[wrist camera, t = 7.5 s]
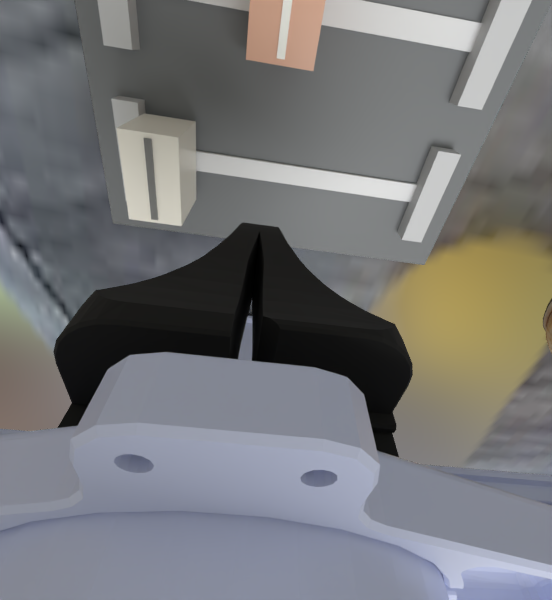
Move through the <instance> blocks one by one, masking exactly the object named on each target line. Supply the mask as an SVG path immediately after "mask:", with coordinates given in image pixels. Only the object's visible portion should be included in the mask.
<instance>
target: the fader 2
mask: <svg viewBox="0 0 552 600" xmlns="http://www.w3.org/2000/svg"><path fill="white" fill-rule="evenodd" d="M325 1H326V0H250V6H249V21H248V35H247V50H246V60H251V61H257V62H262V63H268V64H274V65H280V66H286V67H291V68H297V69H303V70H309V71H313V70H314V65H315V59H316V53H317V47H318V42H319V36H320V30H321V24H322V19H323V13H324V7H325Z"/></svg>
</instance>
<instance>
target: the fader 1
mask: <svg viewBox="0 0 552 600" xmlns="http://www.w3.org/2000/svg"><path fill="white" fill-rule="evenodd" d="M116 130H117V137H118V144H119V151H120V158H121V165H122V173H123V180H124V187H125V194H126V201H127V208H128V216H129V219H131V220H139V221H146V222H154V223H161V224H168V225H176V226H182V225H183V223H184V221H185V219H186V217H187V215H188V214H189V212H190V210H191V208H192V206H193V204H194V203H195V201H196V121H190V120H184V119H177V118H171V117H165V116H158V115H152V114H146V113H144V114H142V115H140V116H138V117H136V118H135V119H133V120H131V121H129V122H127V123H125V124H123V125H121V126H119V127H117V128H116Z"/></svg>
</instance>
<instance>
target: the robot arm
mask: <svg viewBox="0 0 552 600" xmlns="http://www.w3.org/2000/svg"><path fill="white" fill-rule="evenodd" d="M251 300H252V316H248V313H249V309H250V305H251ZM54 356H55V360H56V364H57V367H58V369H59V372H60V374H61V377H62V379H63V382H64V384H65V387H66V389H67V392H68V394H69V396H70V399H71V402H72V404H71V406H70V408H69V409H68V411H67V413H66V414H65V416H64V418H63V420H62V421H61V423H60V425H59V426H58V428H54V429H45V430H36V431H20V430H8V429H0V600H552V475H541V474H530V473H518V472H506V471H494V470H482V469H470V468H458V467H445V466H435V465H423V464H418V463H415V462H412V461H408V460H405V459H402V458H399V456H398V452H397V449H396V445H395V442H394V438H393V435H392V433H394V432H395V430H396V423H395V419H394V416H393V410H394V408H395V407H396V405H397V404H398V402H399V400H400V399H401V397H402V395H403V393H404V392H405V390H406V389H407V387H408V385H409V383H410V380H411V377H412V362H411V359H410V357H409V354H408V352H407V349H406V347H405V344H404V342H403V339H402V337H401V335H400V334H399V331H398V330H397V328H396V326H395V324H393V323H391V322H388V321H386V320H384V319H382V318H380V317H378V316H375V315H373V314H371V313H369V312H367V311H365V310H363V309H361V308H359V307H357V306H356V305H354V304H352V303H350V302H349V301H347V300H345V299H344V298H342V297H341V296H339V295H338V294H336V293H335V292H334V291H332V290H331V289H330V288H328V287H327V286H326V285H324V284H323V283H322V282H321V281H320V280H319V279H317V278H316V277H315V276H314V275H313V274H312V273H311V272H310V271H309V270H308V269H307V268H306V267H305V266H304V264H303V263H302V262H301V261H300V260H299V258H298V257H297V256H296V254H295V253H294V251H293V250H292V249H291V247H290V245H289V244H288V242H287V241H286V239H285V237H284V235H283V233H282V231H281V230H280V228H279V227H274V226H267V225H259V224H252V223H244V222H243V223H241V224H240V225H239V226H238V227H237V228H236V229H235V230H234V231H233V232H232V233H231V234H230V235H229V236H228V237H227V238H226V239H225V240H224V241H222V242H221V243H220V244H219V245H218V246H217V247H215V248H214V249H212V250H211V251H210V252H208V253H207V254H206V255H204V256H203V257H201V258H199V259H198V260H196V261H194V262H192V263H190V264H188V265H186V266H184V267H181V268H179V269H177V270H174V271H172V272H169V273H167V274H164V275H162V276H158V277H155V278H152V279H149V280H145V281H141V282H138V283H133V284H129V285H124V286H118V287H113V288H107V289H102V290H96V291H95V292H94V293H93V294H92V295H91V296H90V297H89V298H88V299H87V300H86V302H85V303H84V304H83V305H82V306H81V308H80V309H79V310H78V312H77V313H76V314H75V316H74V317H73V318H72V320H71V321H70V322H69V324H68V325H67V326H66V328H65V329H64V330H63V332H62V333H61V334H60V336H59V337H58V338H57V340H56V344H55V348H54Z"/></svg>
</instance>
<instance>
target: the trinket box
mask: <svg viewBox="0 0 552 600" xmlns="http://www.w3.org/2000/svg"><path fill="white" fill-rule="evenodd" d="M543 327H544V329H545V331H546V340H547V343H548V346H549V349H550V351H551V353H552V298H551V300H550V302H549V303H548V305H547V308H546V310H545V313H544V317H543Z"/></svg>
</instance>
